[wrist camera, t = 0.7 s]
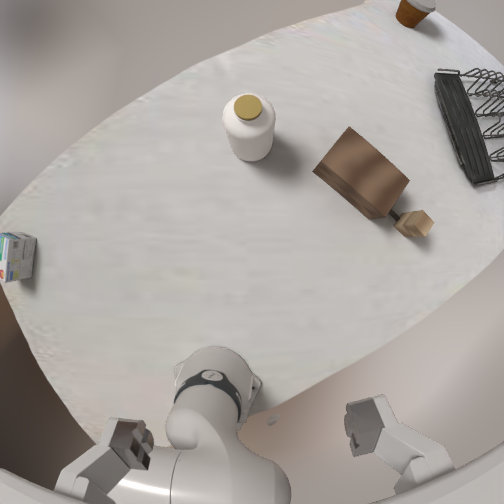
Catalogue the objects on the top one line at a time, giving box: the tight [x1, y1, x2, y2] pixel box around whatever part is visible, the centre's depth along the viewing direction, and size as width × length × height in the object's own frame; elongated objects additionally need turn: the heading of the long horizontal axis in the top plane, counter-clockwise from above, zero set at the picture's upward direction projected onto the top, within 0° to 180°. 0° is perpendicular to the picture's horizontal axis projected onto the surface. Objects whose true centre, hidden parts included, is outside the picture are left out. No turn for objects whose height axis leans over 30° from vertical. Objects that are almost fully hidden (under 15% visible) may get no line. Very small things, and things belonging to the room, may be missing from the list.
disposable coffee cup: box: [396, 0, 436, 28], centre depth 47 cm, size 10×10×12 cm
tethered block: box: [389, 209, 434, 237], centre depth 52 cm, size 21×5×9 cm, turn 51°
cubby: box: [312, 127, 410, 219], centre depth 52 cm, size 15×9×8 cm, turn 51°
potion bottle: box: [222, 93, 276, 161], centre depth 48 cm, size 8×8×18 cm
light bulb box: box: [0, 232, 36, 283], centre depth 54 cm, size 11×7×11 cm, turn 166°
